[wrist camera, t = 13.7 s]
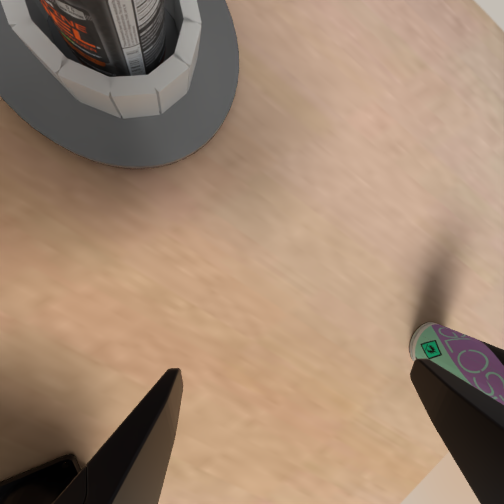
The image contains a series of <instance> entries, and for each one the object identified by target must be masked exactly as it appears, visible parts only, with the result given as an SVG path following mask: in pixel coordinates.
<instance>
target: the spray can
mask: <svg viewBox="0 0 504 504" xmlns="http://www.w3.org/2000/svg"><path fill="white" fill-rule="evenodd" d="M410 355H411V358H412V360H413V361H415V360H416V359H419V358H427V359H429V360H431V361H433V362H435V363H436V364H438V365H439V366H441V367H443V368H444V369H446V370H448V371H449V372H451V373H452V374H454V375H456V376H457V377H459V378H461V379H462V380H464V381H466V382H467V383H469V384H470V385H472V386H474V387H475V388H477V389H479V390H480V391H482V392H483V393H485V394H487V395H488V396H490V397H492V398H493V399H495V400H497V401H498V402H500V403H501V404H503V405H504V350H503V349H500V348H497V347H495V346H492V345H490V344H487V343H485V342H482V341H480V340H477V339H475V338H472V337H470V336H467V335H465V334H462V333H460V332H457V331H455V330H452V329H449V328H447V327H444V326H442V325H439V324H436V323H434V322H428V323H425V324H423V325H421V326H420V327H419V328H418V329H417V330H416V331H415V333H414V335H413V336H412V339H411V342H410Z"/></svg>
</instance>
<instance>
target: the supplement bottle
mask: <svg viewBox="0 0 504 504" xmlns="http://www.w3.org/2000/svg"><path fill="white" fill-rule="evenodd" d="M39 1H40V2H41V4H42V5H43V7H44V9H45V10H46V12H47V14H48V15H49V17H50V19H51V20H52V22H53V24H54V25H55V27H56V28H57V30H58V31H59V33H60V35H61V36H62V38H63V39H64V41H65V42H66V44H67V46H68V47H69V48H70V50H71V51H72V53H73V54H74V55H75V56H76V58H77V59H78V60H79V61H80V62H81V63H82V64H83V65H84V66H86V67H88V68H90V69H92V70H95V71H97V72H99V73H101V74H104V75H106V76H108V77H119V76H135V75H148V74H150V73H151V72H152V71H153V70H155V69H156V68H157V67H158V66H160V65H161V64H162V63H163V61H164V57H165V52H166V30H165V8H164V0H39Z"/></svg>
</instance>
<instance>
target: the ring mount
mask: <svg viewBox="0 0 504 504" xmlns="http://www.w3.org/2000/svg"><path fill="white" fill-rule="evenodd" d="M164 8H165V30H166V52H165V57H164V61H163V63H162V64H161V65H160V66H158V67H157V68H156V69H155V70H153V71H152V72H151V73H150V74H148V75H135V76H119V77H108V76H106V75H104V74H101V73H99V72H97V71H95V70H92V69H90V68H88V67H86V66H84V65H83V64H82V63H81V62H80V61H79V60H78V59H77V58H76V56H75V55H74V54H73V53H72V51H71V50H70V48H69V47H68V46H67V44H66V42H65V41H64V39H63V38H62V36H61V35H60V33H59V31H58V30H57V28H56V27H55V25H54V24H53V22H52V20H51V19H50V17H49V15H48V14H47V12H46V10H45V9H44V7H43V5H42V4H41V2H40V1H39V0H0V96H1V97H2V98H3V100H4V101H5V102H6V103H7V104H8V105H9V106H10V107H11V108H12V109H13V110H14V111H15V112H16V113H17V114H18V115H19V116H20V117H21V118H22V119H24V120H25V121H26V122H27V123H28V124H30V125H31V126H32V127H33V128H34V129H36V130H37V131H39V132H40V133H42V134H43V135H45V136H46V137H47V138H49V139H50V140H52V141H53V142H55V143H57V144H58V145H60V146H62V147H63V148H65V149H67V150H69V151H71V152H73V153H75V154H77V155H79V156H82V157H84V158H87V159H89V160H92V161H95V162H98V163H102V164H105V165H109V166H115V167H121V168H133V169H145V168H155V167H160V166H165V165H169V164H172V163H175V162H178V161H180V160H183V159H185V158H186V157H188V156H190V155H192V154H194V153H195V152H197V151H198V150H199V149H201V148H202V147H203V146H204V145H206V144H207V142H208V141H209V140H210V139H211V138H212V137H213V136H214V135H215V134H216V132H217V131H218V130H219V128H220V127H221V125H222V123H223V122H224V120H225V118H226V116H227V114H228V112H229V110H230V107H231V104H232V102H233V99H234V96H235V92H236V87H237V83H238V73H239V51H238V44H237V37H236V32H235V28H234V24H233V20H232V17H231V15H230V12H229V9H228V6H227V4H226V1H225V0H164Z"/></svg>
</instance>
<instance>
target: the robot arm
mask: <svg viewBox="0 0 504 504" xmlns="http://www.w3.org/2000/svg"><path fill="white" fill-rule="evenodd" d="M410 377H411V381H412V383H413V385H414V387H415V389H416V391H417V393H418V395H419V397H420V399H421V401H422V403H423V405H424V407H425V409H426V411H427V413H428V415H429V417H430V419H431V421H432V423H433V425H434V426H435V428H436V430H437V432H438V433H439V435H440V437H441V438H442V440H443V442H444V443H445V445H446V447H447V448H448V450H449V452H450V453H451V455H452V457H453V458H454V460H455V462H456V463H457V465H458V466H459V468H460V470H461V472H462V473H463V475H464V476H465V478H466V480H467V482H468V483H469V485H470V487H471V488H472V490H473V491H474V493H475V495H476V496H477V498H478V500H479V502H480V503H481V504H504V405H503V404H501V403H500V402H498V401H497V400H495V399H493V398H492V397H490V396H488V395H487V394H485V393H483V392H482V391H480V390H479V389H477V388H475V387H474V386H472V385H470V384H469V383H467V382H466V381H464V380H462V379H461V378H459V377H457V376H456V375H454V374H452V373H451V372H449V371H448V370H446V369H444V368H443V367H441V366H439V365H438V364H436V363H435V362H433V361H431V360H429V359H427V358H419V359H416V360H415V361H414V364H413V367H412V370H411V373H410ZM182 392H183V381H182V375H181V370H180V369H179V368H170V369H168V370H167V371H166V372H165V373H164V375H163V376H162V377H161V378H160V379H159V380H158V382H157V383H156V384H155V385H154V386H153V387H152V389H151V390H150V391H149V392H148V393H147V394H146V396H145V397H144V398H143V399H142V400H141V401H140V403H139V404H138V405H137V406H136V407H135V408H134V410H133V411H132V412H131V413H130V414H129V415H128V417H127V418H126V419H125V420H124V421H123V422H122V424H121V425H120V426H119V427H118V428H117V429H116V431H115V432H114V433H113V434H112V435H111V436H110V438H109V439H108V440H107V441H106V442H105V443H104V445H103V446H102V447H101V448H100V449H99V450H98V452H97V453H96V454H95V455H94V456H93V457H92V459H91V460H90V461H89V462H88V463H87V467H84V468H83V469H82V470H81V469H80V467H79V465H78V463H77V460H76V458H75V456H74V455H71V454H68V455H65V456H62V457H60V458H58V459H55V460H53V461H51V462H48V463H46V464H43V465H41V466H39V467H36V468H34V469H31V470H29V471H27V472H24V473H22V474H20V475H17V476H15V477H12V478H10V479H8V480H5V481H3V482H0V504H158V501H159V498H160V494H161V490H162V486H163V482H164V478H165V475H166V471H167V467H168V463H169V459H170V455H171V452H172V448H173V444H174V440H175V435H176V429H177V423H178V417H179V411H180V405H181V398H182ZM65 462H68V463H65Z"/></svg>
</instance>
